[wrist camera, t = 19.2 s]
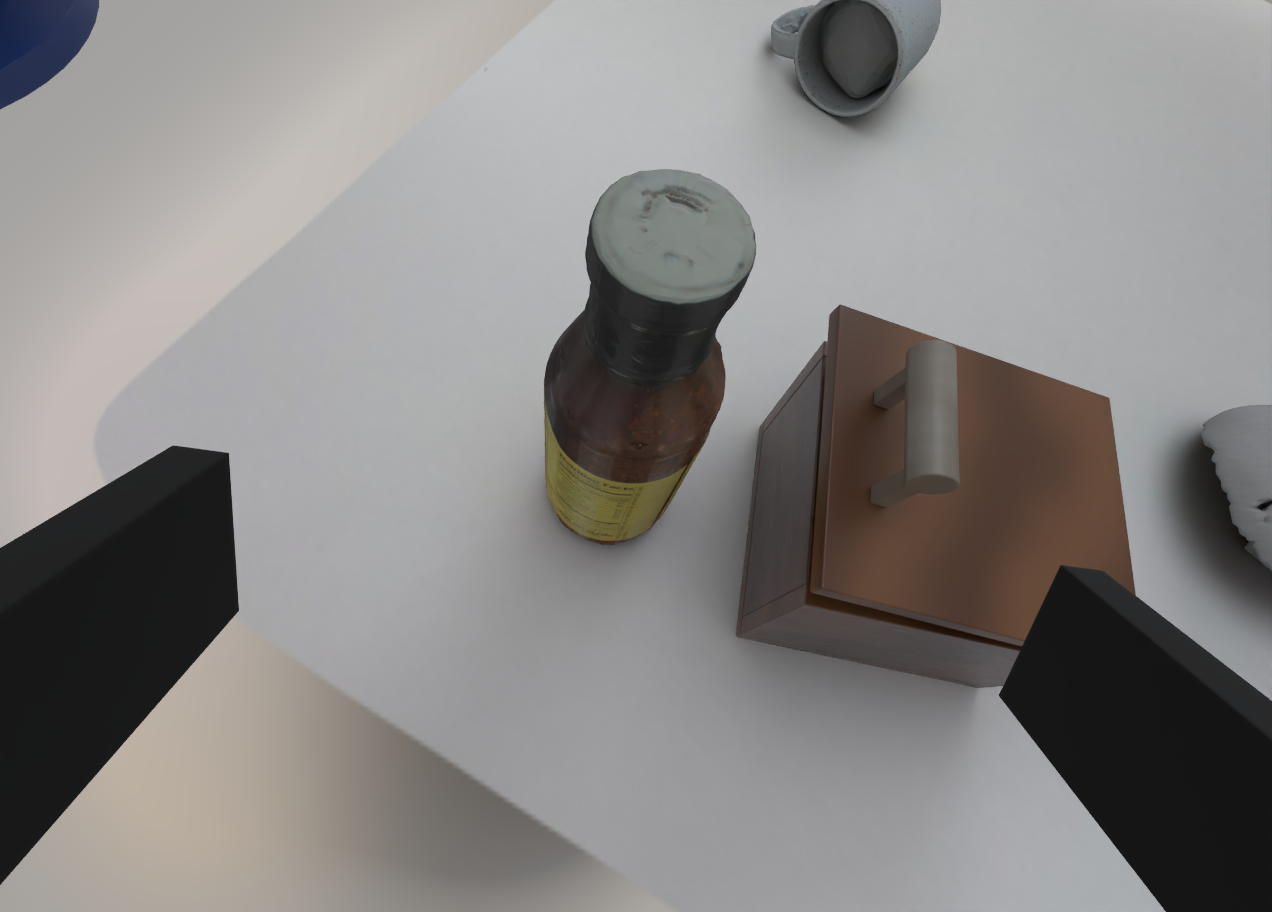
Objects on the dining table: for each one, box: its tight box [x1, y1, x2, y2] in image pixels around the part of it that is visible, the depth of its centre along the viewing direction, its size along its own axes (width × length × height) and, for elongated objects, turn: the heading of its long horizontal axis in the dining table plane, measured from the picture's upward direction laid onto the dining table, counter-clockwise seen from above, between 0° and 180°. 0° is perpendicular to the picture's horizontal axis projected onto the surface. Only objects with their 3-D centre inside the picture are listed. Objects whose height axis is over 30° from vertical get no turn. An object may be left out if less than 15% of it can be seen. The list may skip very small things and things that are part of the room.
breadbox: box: [736, 341, 1022, 688], centre depth 31 cm, size 13×12×9 cm
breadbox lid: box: [810, 305, 1136, 646], centre depth 24 cm, size 13×12×4 cm
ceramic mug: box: [771, 0, 941, 117], centre depth 46 cm, size 11×8×8 cm
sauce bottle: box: [544, 169, 756, 545], centre depth 25 cm, size 6×6×20 cm
